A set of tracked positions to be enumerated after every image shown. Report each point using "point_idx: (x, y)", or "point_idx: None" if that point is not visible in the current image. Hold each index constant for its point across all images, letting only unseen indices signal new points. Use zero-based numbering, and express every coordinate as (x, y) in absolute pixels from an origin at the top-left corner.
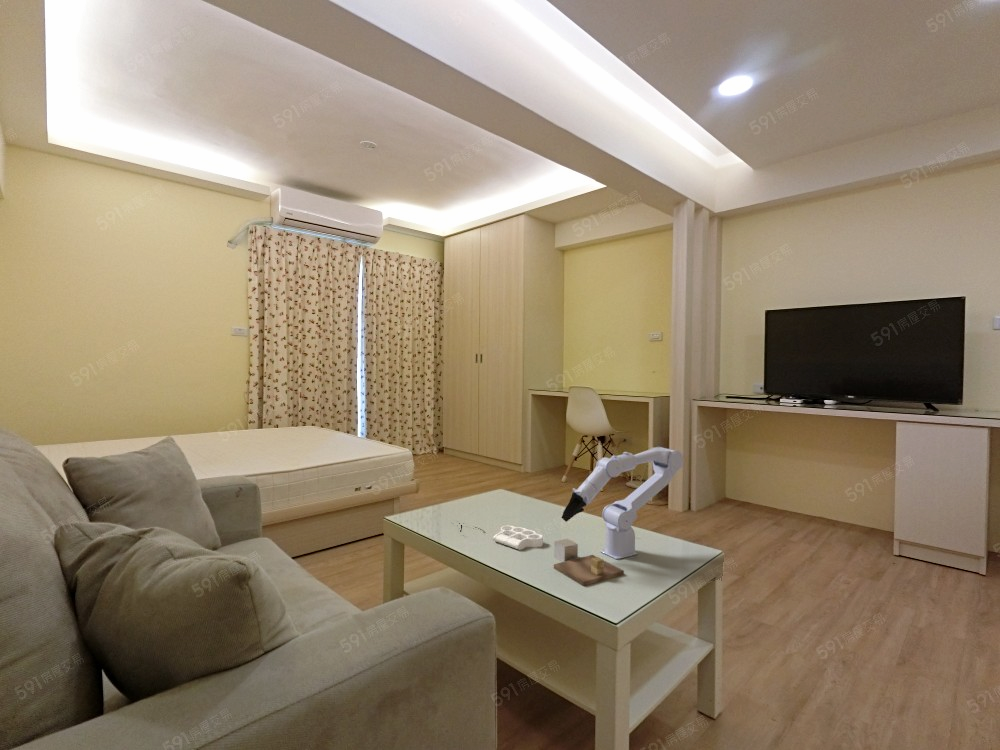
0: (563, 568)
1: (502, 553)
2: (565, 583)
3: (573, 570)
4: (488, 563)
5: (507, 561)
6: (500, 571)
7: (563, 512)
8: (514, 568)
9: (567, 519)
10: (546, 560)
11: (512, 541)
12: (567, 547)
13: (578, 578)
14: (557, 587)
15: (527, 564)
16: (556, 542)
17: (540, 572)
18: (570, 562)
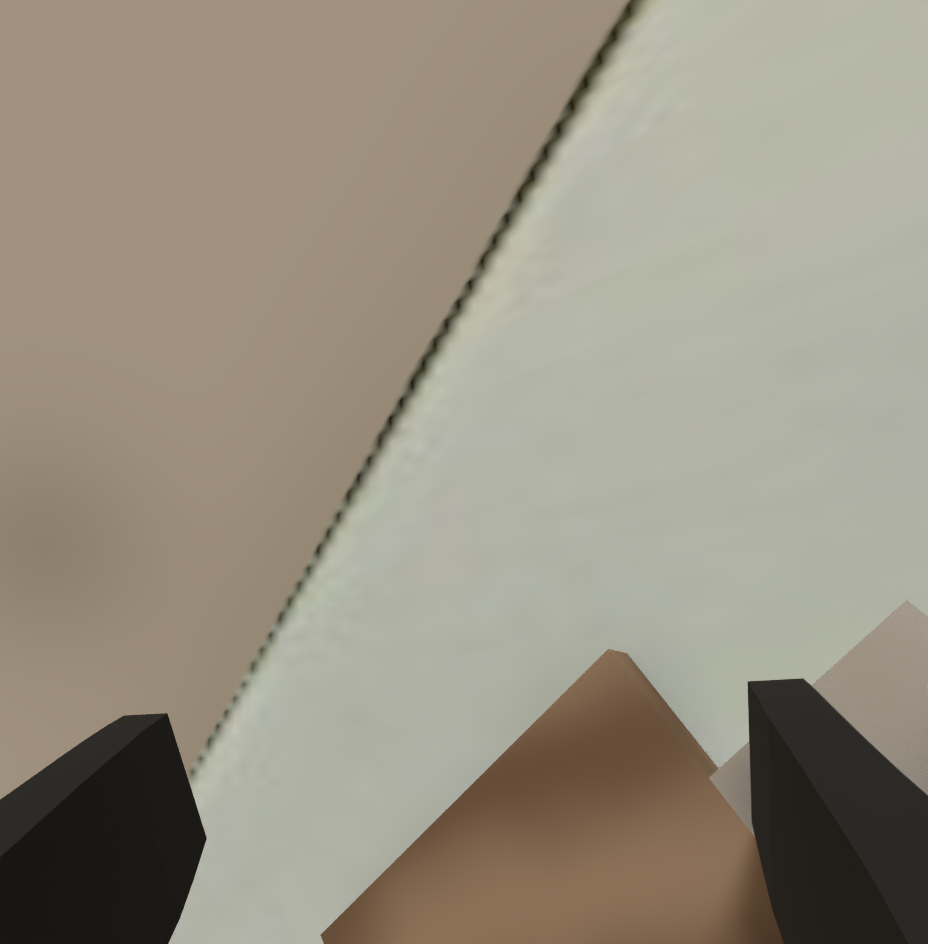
0: (533, 757)
1: (870, 61)
2: (375, 772)
3: (505, 866)
4: (606, 100)
5: (681, 203)
6: (491, 250)
7: (104, 729)
8: (556, 318)
9: (763, 868)
10: (815, 549)
11: None
12: (750, 824)
13: (370, 897)
14: (322, 707)
15: (658, 388)
16: (866, 637)
17: (522, 542)
18: (700, 852)
